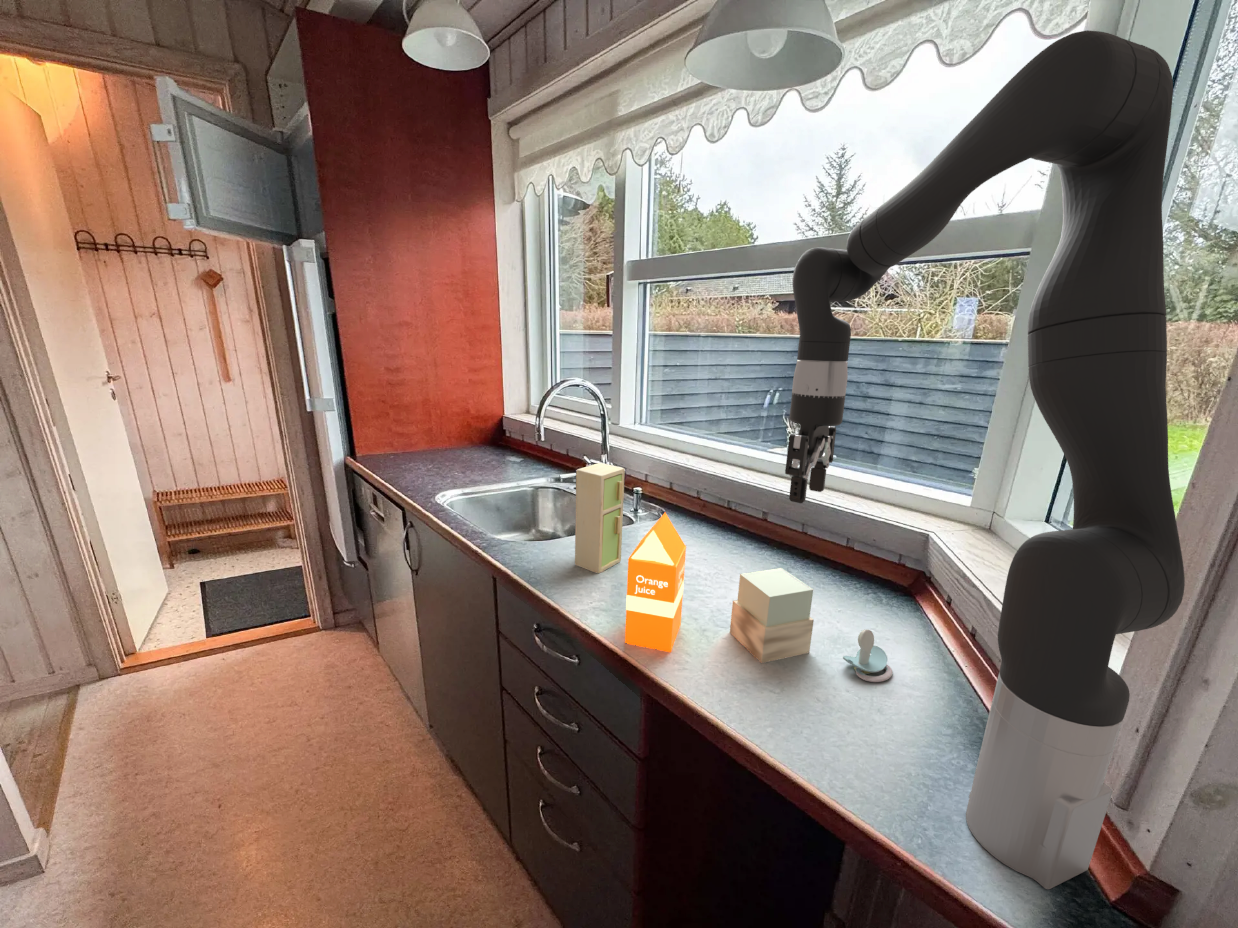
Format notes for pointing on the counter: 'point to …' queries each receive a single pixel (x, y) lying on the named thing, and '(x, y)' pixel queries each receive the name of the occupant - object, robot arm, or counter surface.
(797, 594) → the sage block
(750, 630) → the maple block
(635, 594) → the orange juice
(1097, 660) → the robot arm
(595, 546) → the toy refrigerator
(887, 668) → the pacifier
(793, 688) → the counter surface
